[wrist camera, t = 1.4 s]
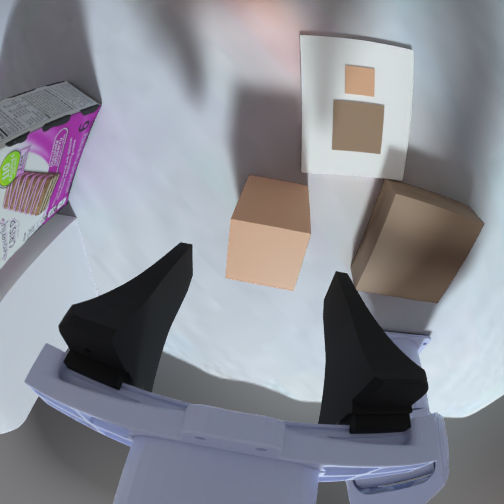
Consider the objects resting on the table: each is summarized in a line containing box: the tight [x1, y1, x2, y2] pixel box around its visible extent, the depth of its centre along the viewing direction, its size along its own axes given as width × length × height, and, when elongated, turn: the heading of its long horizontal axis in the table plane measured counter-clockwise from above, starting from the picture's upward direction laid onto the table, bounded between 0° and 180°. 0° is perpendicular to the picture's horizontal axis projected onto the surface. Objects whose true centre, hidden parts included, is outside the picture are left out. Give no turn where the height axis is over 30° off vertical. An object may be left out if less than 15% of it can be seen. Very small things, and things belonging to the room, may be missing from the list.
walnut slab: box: [351, 179, 484, 303], centre depth 19 cm, size 8×8×3 cm
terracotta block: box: [226, 175, 311, 291], centre depth 17 cm, size 4×4×6 cm
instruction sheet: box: [300, 35, 414, 181], centre depth 15 cm, size 9×7×1 cm
